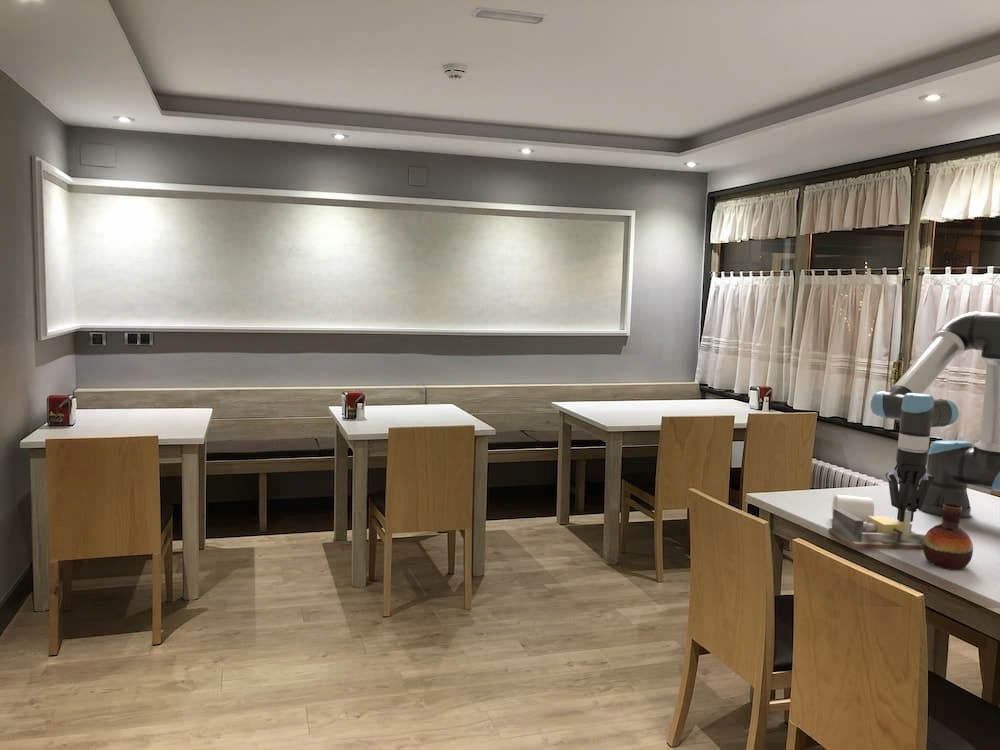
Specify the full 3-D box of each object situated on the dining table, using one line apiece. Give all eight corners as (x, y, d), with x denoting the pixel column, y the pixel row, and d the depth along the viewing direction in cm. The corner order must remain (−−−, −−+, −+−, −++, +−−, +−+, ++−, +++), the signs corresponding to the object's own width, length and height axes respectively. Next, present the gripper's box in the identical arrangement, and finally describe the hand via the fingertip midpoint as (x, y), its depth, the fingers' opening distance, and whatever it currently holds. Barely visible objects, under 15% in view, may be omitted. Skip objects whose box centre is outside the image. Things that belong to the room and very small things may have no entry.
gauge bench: (908, 533, 223) (910, 509, 223) (939, 550, 210) (942, 524, 209) (828, 531, 221) (831, 507, 220) (855, 548, 207) (858, 522, 207)
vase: (978, 574, 192) (986, 513, 190) (930, 569, 194) (937, 509, 192) (960, 559, 203) (967, 502, 201) (914, 554, 204) (921, 497, 203)
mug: (872, 528, 227) (875, 501, 227) (836, 524, 229) (839, 498, 229) (862, 517, 239) (864, 491, 238) (827, 513, 241) (830, 488, 240)
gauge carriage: (886, 531, 219) (887, 516, 219) (910, 544, 208) (912, 529, 208) (855, 530, 219) (857, 515, 218) (879, 544, 207) (880, 528, 207)
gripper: (926, 447, 217) (917, 529, 220) (882, 446, 216) (873, 528, 219) (943, 453, 210) (934, 537, 213) (898, 451, 209) (889, 536, 211)
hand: (903, 532), depth 216 cm, fingers closed
